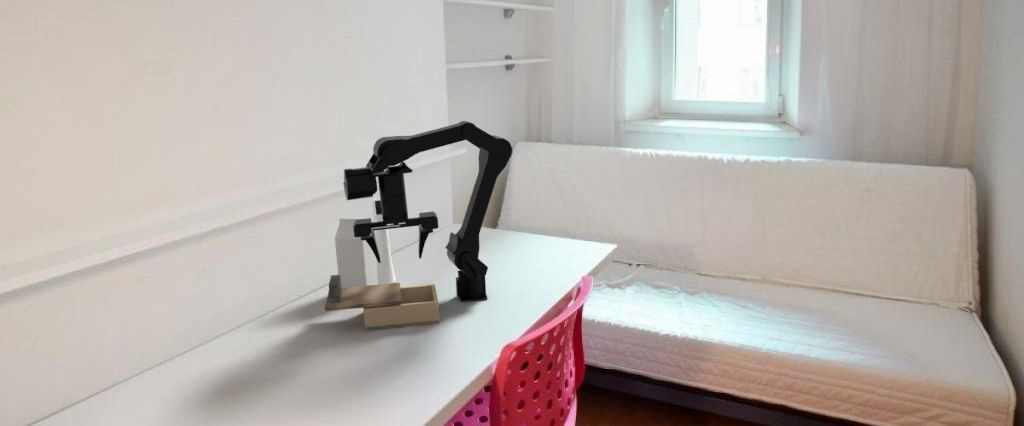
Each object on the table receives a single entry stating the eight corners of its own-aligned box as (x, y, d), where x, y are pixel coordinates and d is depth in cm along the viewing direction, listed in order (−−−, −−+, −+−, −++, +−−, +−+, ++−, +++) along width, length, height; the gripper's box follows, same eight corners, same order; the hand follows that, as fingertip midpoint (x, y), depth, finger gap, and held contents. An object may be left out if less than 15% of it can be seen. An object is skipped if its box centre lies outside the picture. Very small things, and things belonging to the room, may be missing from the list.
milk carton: (367, 298, 175) (360, 222, 170) (340, 297, 176) (332, 222, 172) (378, 288, 181) (372, 215, 177) (352, 287, 183) (345, 215, 178)
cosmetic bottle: (381, 276, 190) (374, 195, 185) (400, 279, 188) (394, 197, 183) (367, 284, 185) (360, 200, 180) (387, 286, 182) (380, 202, 177)
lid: (400, 286, 167) (398, 266, 165) (401, 304, 155) (399, 283, 154) (329, 292, 164) (327, 272, 163) (325, 311, 153) (322, 289, 151)
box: (435, 304, 169) (434, 284, 168) (439, 323, 158) (438, 301, 156) (366, 310, 167) (364, 290, 165) (365, 330, 155) (363, 309, 154)
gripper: (431, 182, 170) (437, 245, 174) (351, 190, 167) (359, 254, 171) (435, 192, 160) (441, 259, 164) (349, 201, 157) (358, 269, 161)
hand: (399, 260), depth 165 cm, fingers open, 9 cm apart
